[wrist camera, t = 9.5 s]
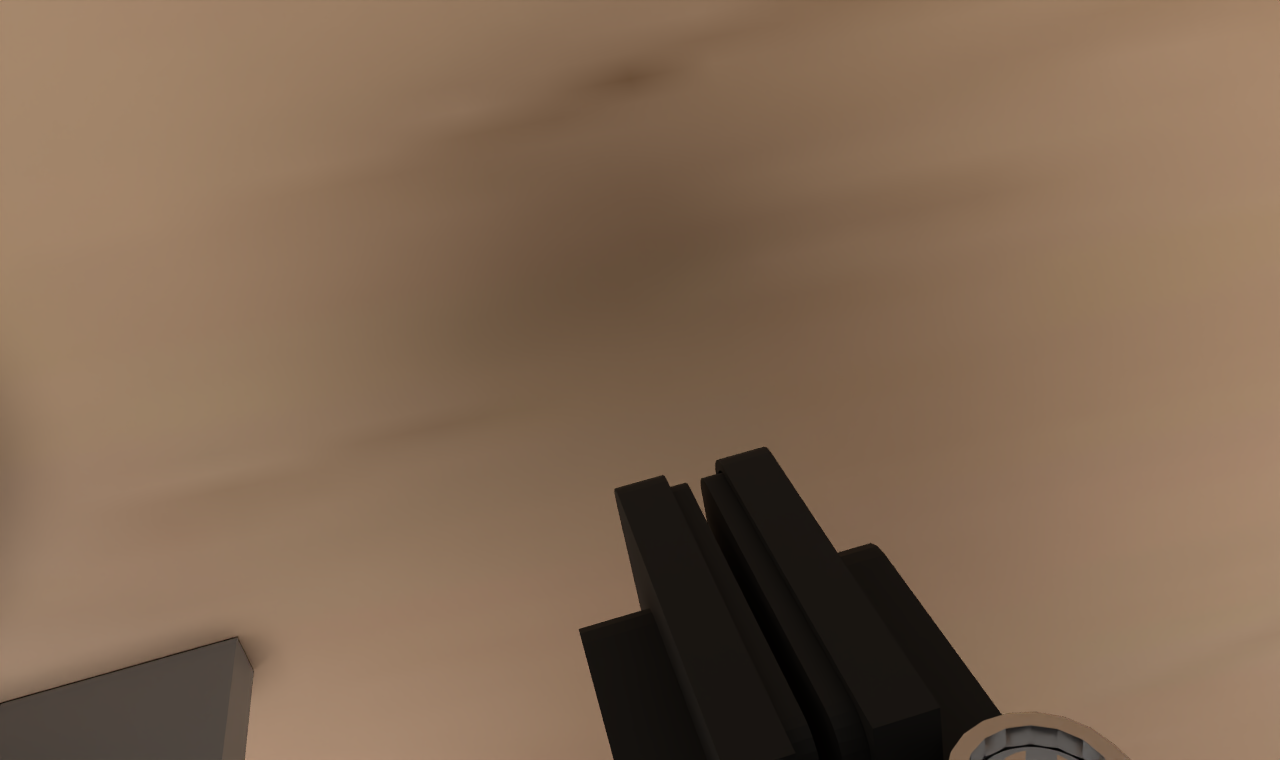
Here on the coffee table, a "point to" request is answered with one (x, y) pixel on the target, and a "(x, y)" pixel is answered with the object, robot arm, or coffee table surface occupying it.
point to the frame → (139, 712)
